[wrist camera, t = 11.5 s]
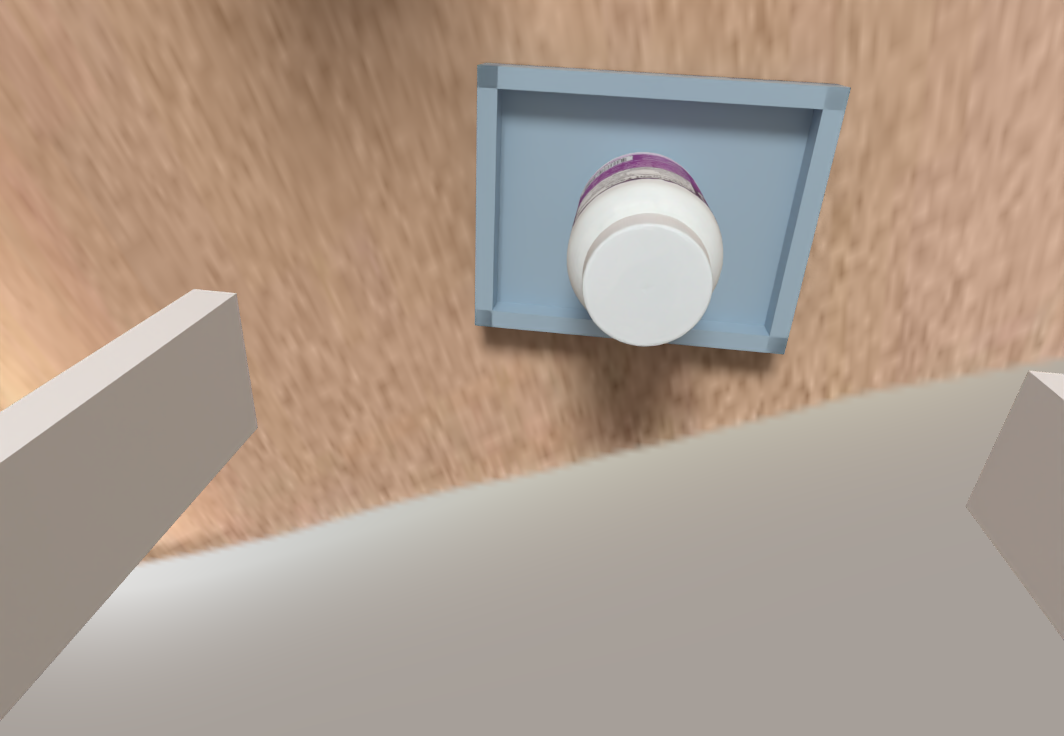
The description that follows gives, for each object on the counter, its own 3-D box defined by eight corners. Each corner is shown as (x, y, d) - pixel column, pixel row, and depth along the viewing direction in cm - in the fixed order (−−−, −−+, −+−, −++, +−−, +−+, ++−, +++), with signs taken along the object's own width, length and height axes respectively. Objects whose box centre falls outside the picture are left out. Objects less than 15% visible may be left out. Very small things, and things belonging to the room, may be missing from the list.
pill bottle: (692, 276, 30) (721, 376, 21) (574, 268, 30) (555, 362, 22) (711, 151, 27) (752, 206, 19) (581, 144, 28) (564, 196, 19)
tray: (482, 310, 32) (475, 325, 31) (485, 62, 27) (477, 65, 26) (775, 337, 31) (784, 354, 30) (836, 84, 26) (850, 87, 24)
